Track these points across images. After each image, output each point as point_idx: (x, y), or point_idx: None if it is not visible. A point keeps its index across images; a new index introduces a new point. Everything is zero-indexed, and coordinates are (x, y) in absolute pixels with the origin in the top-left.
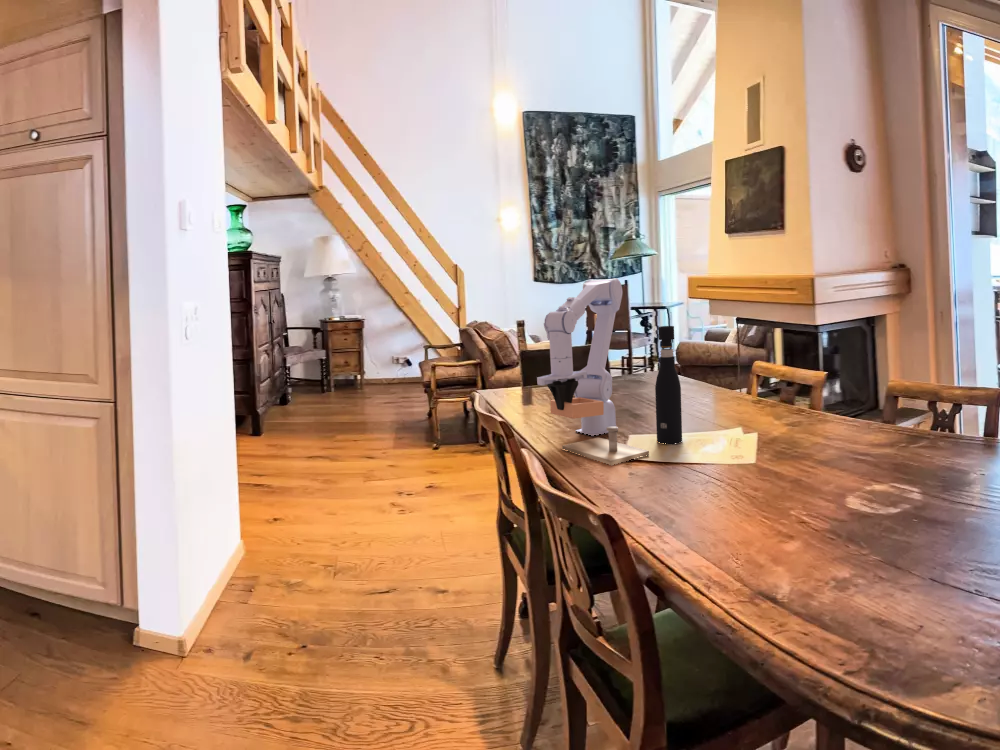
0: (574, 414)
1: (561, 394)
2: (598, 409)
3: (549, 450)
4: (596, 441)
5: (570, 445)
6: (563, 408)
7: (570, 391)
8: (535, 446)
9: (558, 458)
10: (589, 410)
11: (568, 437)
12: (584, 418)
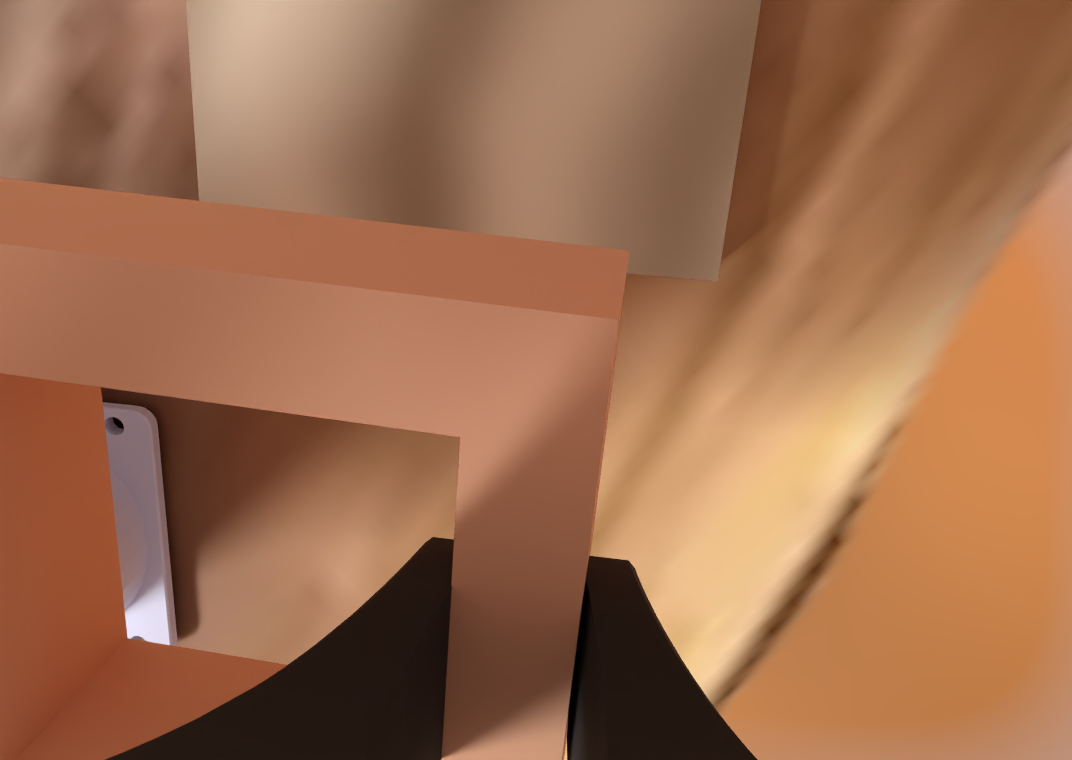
0: (588, 260)
1: (703, 752)
2: (12, 202)
3: (798, 365)
4: (331, 109)
5: (655, 210)
6: (598, 564)
7: (376, 739)
8: (771, 571)
9: (991, 43)
10: (218, 230)
11: (338, 568)
12: None
